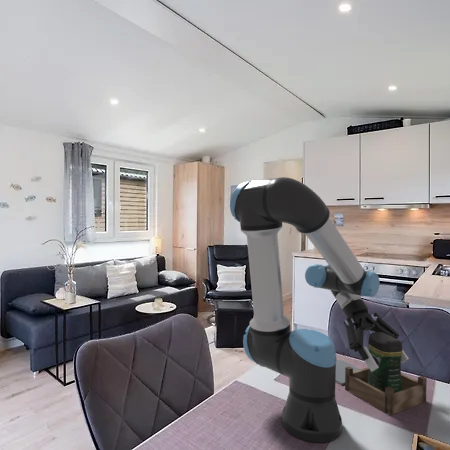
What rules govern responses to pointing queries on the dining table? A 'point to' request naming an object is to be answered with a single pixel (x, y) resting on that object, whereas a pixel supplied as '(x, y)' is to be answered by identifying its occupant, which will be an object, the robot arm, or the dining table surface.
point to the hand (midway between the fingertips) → (390, 365)
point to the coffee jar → (385, 361)
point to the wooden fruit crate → (386, 391)
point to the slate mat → (342, 371)
